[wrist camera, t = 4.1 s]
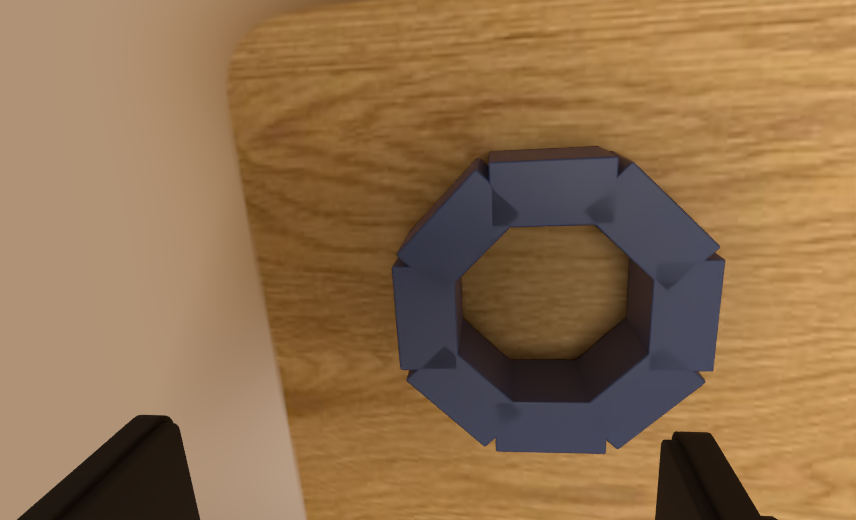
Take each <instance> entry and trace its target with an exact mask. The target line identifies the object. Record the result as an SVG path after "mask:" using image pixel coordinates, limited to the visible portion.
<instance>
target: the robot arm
mask: <svg viewBox="0 0 856 520" xmlns="http://www.w3.org/2000/svg"><path fill="white" fill-rule="evenodd" d="M17 520H200V517H199V513H198V508H197V504H196V499H195V495H194V491H193V486H192V482H191V477H190V473H189V468H188V464H187V460H186V455H185V451H184V446H183V442H182V437H181V433H180V429H179V427H178V425H176V424H175V423H173V421H172V419H171V418H170V417H168V416H163V415H138V416H136V417H135V418H133V419H132V420H131V421H130V422H129V423H127V424H126V425H125V426H124V427H123V428H122V429H121V430H119V431H118V432H117V433H116V434H115V435H114V436H113V437H112V438H110V439H109V440H108V441H107V442H106V443H104V444H103V445H102V446H101V447H100V448H99V449H98V450H96V451H95V452H94V453H93V454H92V455H91V456H90V457H88V458H87V459H86V460H85V461H84V462H83V463H82V464H80V465H79V466H78V467H77V468H76V469H75V470H73V472H71V473H70V474H69V475H68V476H66V477H65V478H64V479H63V480H62V481H61V482H60V483H58V484H57V485H56V486H55V487H54V488H53V489H52V490H50V491H49V492H48V493H47V494H46V495H45V496H44V497H43V498H41V499H40V500H39V501H38V502H37V503H35V504H34V505H33V506H32V507H31V508H30V509H29V510H27V511H26V512H25V513H24V514H23V515H22V516H21V517H19V518H18V519H17ZM655 520H777V519H776V518H774V517H773V516H760V514H759V512H758V511H757V509H756V507H755V506H754V504H753V502H752V501H751V499H750V497H749V496H748V494H747V492H746V491H745V489H744V487H743V486H742V484H741V482H740V481H739V479H738V477H737V476H736V474H735V472H734V471H733V469H732V467H731V466H730V464H729V462H728V461H727V459H726V457H725V456H724V454H723V452H722V451H721V449H720V447H719V446H718V444H717V442H716V441H715V439H714V437H713V436H712V435H711V434H710V433H708V432H674V433H673V436H672V440H663V441H662V443H661V453H660V465H659V478H658V491H657V503H656V516H655Z"/></svg>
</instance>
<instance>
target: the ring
mask: <svg viewBox="0 0 856 520" xmlns="http://www.w3.org/2000/svg"><path fill="white" fill-rule="evenodd" d="M577 225H595V226H596V227H597V228H598V229H600V230H601V231H602V232H603V233H604V234H605V235H606V236H607V237H608V238H609V239H610V240H611V241H612V242H613V243H614V244H615V245H617V246H618V247H619V248H620V249H621V250H622V251H623V252H624V253H625V254H626V255H627V256H628V257H629V276H628V294H627V313H626V318H625V319H624V320H623V321H621V322H620V323H619V324H618V325H617V326H616V327H614V328H613V329H612V330H611V331H610V332H609V333H607V334H606V335H605V336H604V337H603V338H602V339H600V340H599V341H598V342H597V343H596V344H595V345H593V346H592V347H591V348H590V349H589V350H588V351H586V352H585V353H584V354H583V355H582V356H581V357H579V358H578V359H577V360H510V359H508V358H507V357H506V356H505V355H504V354H503V353H502V352H500V351H499V350H498V349H497V348H496V347H495V346H494V345H492V344H491V343H490V342H489V341H488V340H487V339H486V338H484V337H483V336H482V335H481V334H480V333H479V332H478V331H476V330H475V329H474V328H473V327H472V326H471V325H470V324H468V323H467V322H466V321H465V320H464V319H463V309H462V286H461V276H462V275H463V274H464V273H465V272H466V271H467V270H468V269H469V268H470V267H471V266H472V265H473V264H474V263H475V262H476V261H477V260H478V259H479V258H480V257H481V256H482V255H483V254H484V253H485V252H486V251H487V250H488V249H489V248H490V247H491V246H492V245H493V244H494V243H495V242H496V241H497V240H498V239H499V238H500V237H501V236H502V235H503V234H504V233H505V232H506V231H507V230H508V229H509V228H511V227H544V226H577ZM719 248H720V245H719V244H718V243H716V242H715V241H714V240H713V239H712V238H711V237H710V236H709V235H708V234H707V233H706V232H705V231H704V230H703V229H702V228H701V227H700V226H699V225H698V224H697V223H696V222H695V221H694V220H693V219H692V218H691V217H690V216H689V215H688V214H687V213H686V212H685V211H684V210H683V209H682V208H681V207H680V206H678V205H677V204H676V203H675V202H674V201H673V200H672V199H671V198H670V197H669V196H668V195H667V194H666V193H665V192H664V191H663V190H662V189H661V188H660V187H659V186H658V185H657V184H656V183H655V182H654V181H653V180H652V179H651V178H650V177H649V176H648V175H647V174H646V173H645V172H644V171H643V170H641V169H640V168H639V167H638V166H637V165H636V164H635V163H634V162H632V161H631V160H629V159H627V158H625V157H623V156H621V155H619V154H617V153H615V152H613V151H610V152H608V151H607V150H605V149H603V148H601V147H599V146H590V147H570V148H549V149H529V150H509V151H491V152H489V161H488V165H487V164H485V163H484V162H483V161H482V160H481V159H480V158H477V159H475V161H474V162H473V163H472V164H471V165H470V166H469V167H468V168H467V169H466V170H465V171H464V173H463V174H462V175H461V176H460V177H459V178H458V179H457V180H456V181H455V182H454V183H453V185H452V186H451V187H450V188H449V189H448V190H447V191H446V192H445V193H444V194H443V195H442V197H441V198H440V199H439V200H438V201H437V202H436V203H435V204H434V205H433V206H432V207H431V209H430V210H429V211H428V212H427V213H426V214H425V215H424V216H423V217H422V218H421V219H420V221H419V222H418V223H417V224H416V225H415V226H414V227H413V228H412V229H411V230H410V232H409V234H408V235H407V237H406V239H405V240H404V242H403V244H402V246H401V247H400V249H399V251H398V252H397V256H398V258H397V260H396V261H395V263H394V265H393V267H392V278H393V289H394V301H395V313H396V325H397V336H398V348H399V360H400V368H401V370H409V373H408V376H407V382H409V383H410V384H411V385H412V386H413V387H414V388H416V389H417V390H418V391H419V392H420V393H422V394H423V395H424V396H425V397H426V398H427V399H429V400H430V401H431V402H432V403H433V404H435V405H436V406H437V407H438V408H439V409H441V410H442V411H443V412H444V413H445V414H446V415H448V416H449V417H450V418H451V419H452V420H454V421H455V422H456V423H457V424H458V425H460V426H461V427H462V428H463V429H464V430H465V431H467V432H468V433H469V434H470V435H471V436H473V437H474V438H475V439H476V440H477V441H479V442H480V443H481V444H482V445H483V446H487V445H488V444H489V443H490V442H491V441H493V440H494V439H495V438H496V451H500V452H544V453H587V454H605V453H606V440H607V441H608V442H609V443H611V444H612V445H613V446H614V447H615V448H616V449H619V448H621V447H622V446H623V445H624V444H626V443H627V442H628V441H630V440H631V439H632V438H634V437H635V436H636V435H638V434H639V433H640V432H642V431H643V430H644V429H645V428H647V427H648V426H649V425H651V424H652V423H653V422H655V421H656V420H657V419H659V418H660V417H661V416H662V415H664V414H665V413H666V412H668V411H669V410H670V409H672V408H673V407H674V406H676V405H677V404H678V403H680V402H681V401H682V400H683V399H685V398H686V397H687V396H689V395H690V394H691V393H693V392H694V391H695V390H697V389H698V388H699V387H701V386H702V385H703V384H704V383H705V380H704V378H703V377H702V376H701V374H700V373H699V371H713V368H714V359H715V349H716V340H717V331H718V322H719V313H720V304H721V295H722V286H723V276H724V267H725V259H723V258H722V257H720V256H719V255H718V254H716V253H715V252H716V251H717V250H718V249H719Z"/></svg>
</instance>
